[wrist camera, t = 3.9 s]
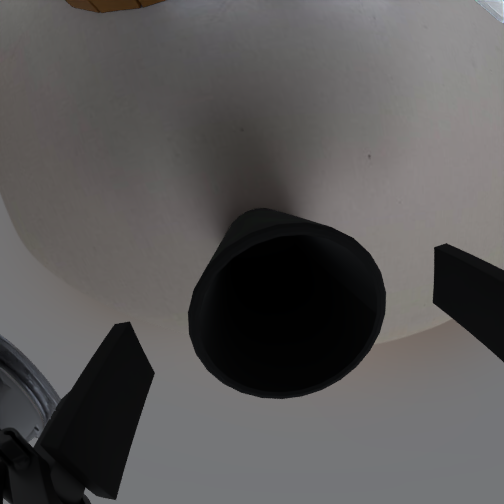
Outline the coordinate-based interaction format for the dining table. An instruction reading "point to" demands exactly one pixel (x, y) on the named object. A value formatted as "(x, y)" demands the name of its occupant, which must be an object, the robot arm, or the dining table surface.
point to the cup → (285, 306)
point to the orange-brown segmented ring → (110, 4)
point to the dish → (493, 8)
